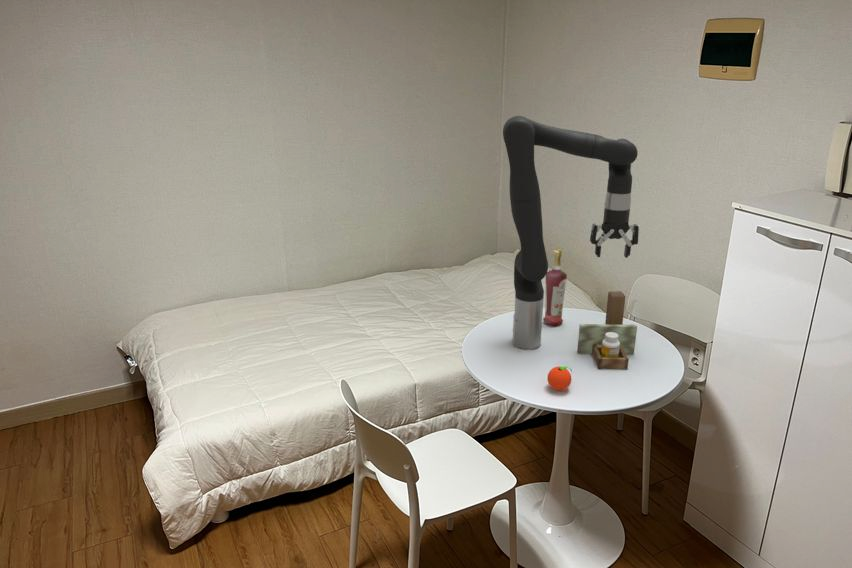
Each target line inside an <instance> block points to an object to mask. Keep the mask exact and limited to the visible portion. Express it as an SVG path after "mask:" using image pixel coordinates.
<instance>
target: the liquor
mask: <svg viewBox="0 0 852 568" xmlns="http://www.w3.org/2000/svg"><path fill="white" fill-rule="evenodd" d="M561 259H562V249H561V248H555V249H553V263H552V269H551V270H549V271H547V273H546V275H545V286H544V287H545V288H544V289H545V290H544V291H545V292H544V293H545V301H544V302H545V304H544V305H545V307H544V310H545V312H544V318H543V321H544V322H545V324H547V326H548V325H549V326H551V327H556V326H559V325H560V324H561V323H563V321H564V320H563V309H564V301H565V300H564V299H565V292H566V286H567V277H568V274H567V273H566V272H564V271H563V270H562V269H561V268H562V267H561V266H562V265H561V264H562V263H561V262H562V261H561Z"/></svg>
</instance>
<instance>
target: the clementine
mask: <svg viewBox="0 0 852 568" xmlns="http://www.w3.org/2000/svg"><path fill="white" fill-rule="evenodd" d="M568 369H570V371H571V372H573V371H572V369H571V368H570V367H568V366H555V367H552V368H551V369H550V370H549V371H548V374H547V382H548V385H549V386H550V387H551V389H554V390H555V391H564V390H566V389H568V388H569V387H570V385H571V384H572V375H571V372H570V371H569V370H568Z"/></svg>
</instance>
